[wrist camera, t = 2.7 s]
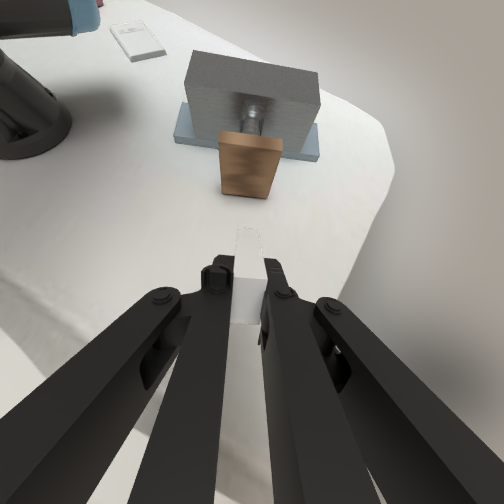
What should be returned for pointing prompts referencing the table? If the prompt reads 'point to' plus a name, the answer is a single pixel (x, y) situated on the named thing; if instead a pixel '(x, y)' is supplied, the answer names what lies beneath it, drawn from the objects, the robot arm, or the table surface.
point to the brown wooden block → (248, 160)
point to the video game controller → (99, 2)
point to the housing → (249, 103)
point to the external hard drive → (137, 41)
